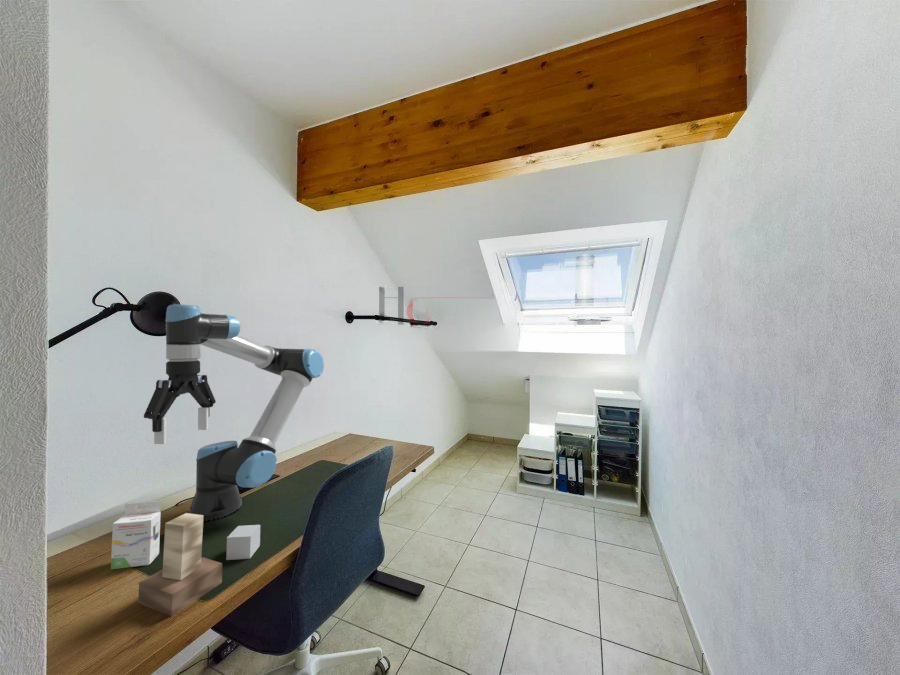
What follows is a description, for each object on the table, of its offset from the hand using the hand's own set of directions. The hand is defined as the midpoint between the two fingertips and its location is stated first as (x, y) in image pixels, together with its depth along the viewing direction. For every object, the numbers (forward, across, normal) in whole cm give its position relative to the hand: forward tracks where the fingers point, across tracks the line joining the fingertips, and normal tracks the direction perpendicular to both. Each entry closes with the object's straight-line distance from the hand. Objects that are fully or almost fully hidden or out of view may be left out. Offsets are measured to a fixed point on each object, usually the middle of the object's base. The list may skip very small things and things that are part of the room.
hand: (183, 436), depth 94 cm
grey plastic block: (+32, -1, +17) cm, 37 cm away
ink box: (+32, +6, -8) cm, 34 cm away
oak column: (+27, +14, +14) cm, 33 cm away
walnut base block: (+32, +15, +14) cm, 38 cm away
